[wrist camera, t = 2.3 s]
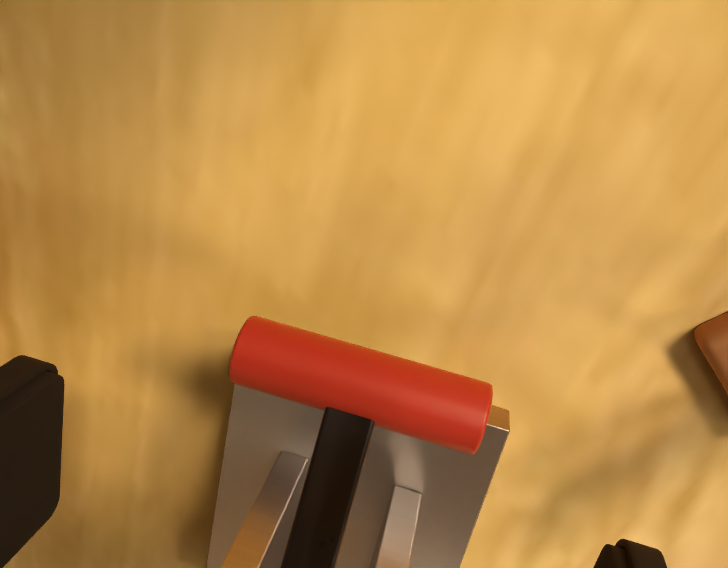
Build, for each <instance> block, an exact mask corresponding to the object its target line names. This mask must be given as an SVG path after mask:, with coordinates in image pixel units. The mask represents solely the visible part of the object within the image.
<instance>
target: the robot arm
mask: <svg viewBox="0 0 728 568" xmlns="http://www.w3.org/2000/svg"><path fill="white" fill-rule="evenodd" d="M63 404H64V379H63V377H62V376H60V375H58V370H57V368H56V366H55V365H53V364H51V363H48V362H44V361H41V360H38V359H35V358H31V357H28V356H25V355H20V356H17V357H15V358H13V359H12V360H10V361H9V362H7V363H6V364H4V365H3V366H1V367H0V568H3V567H4V566H5V565H6V564H7V563H8V562H9V561H10V559H11V558H12V557H13V556H14V555H15V554H16V553H17V552H18V551H19V550H20V549H21V548H22V547H23V546H24V545H25V544H26V543H27V542H28V540H29V539H30V538H31V537H32V536H33V535H34V534H35V533H36V532H37V531H38V530H39V529H40V528H41V527H42V526H43V525H44V524H45V523H46V521H47V520H48V519H49V518H50V517H51V516H52V514H53V512H54V511H55V509H56V507H57V504H58V501H59V495H60V473H61V450H62V427H63ZM594 568H667V566H666V563H665V560H664V557H663V555H662V553H661V552H660V551H659V550H658V549H655V548H652V547H649V546H645V545H642V544H639V543H635V542H632V541H629V540H626V539H620V540H619V541H618V542H617V543H616V545H615V546H613V545H610V544H606V545H605V546H604V547H603V549H602V551H601V553H600V555H599V557H598V559H597V561H596V564H595V566H594Z"/></svg>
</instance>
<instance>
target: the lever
mask: <svg viewBox="0 0 728 568" xmlns="http://www.w3.org/2000/svg"><path fill="white" fill-rule="evenodd" d="M229 378H230V380H231V382H233V383H234V384H237V385H240V386H243V387H247V388H250V389H253V390H257V391H260V392H263V393H267V394H270V395H273V396H277V397H280V398H283V399H287V400H290V401H293V402H297V403H300V404H303V405H307V406H310V407H313V408H317V409H320V410H323V411H324V414H323V417H322V421H321V424H320V428H319V431H318V435H317V439H316V442H315V446H314V449H313V453H312V456H311V460H310V463H309V467H308V471H307V474H306V478H305V481H304V485H303V488H302V492H301V495H300V499H299V503H298V506H297V510H296V513H295V517H294V520H293V524H292V527H291V531H290V534H289V538H288V542H287V545H286V549H285V552H284V556H283V559H282V563H281V566H280V568H336V564H337V561H338V557H339V553H340V550H341V546H342V543H343V539H344V536H345V532H346V528H347V525H348V521H349V518H350V514H351V510H352V507H353V503H354V500H355V496H356V492H357V489H358V485H359V482H360V478H361V475H362V471H363V467H364V464H365V460H366V457H367V453H368V449H369V446H370V442H371V439H372V435H373V432H374V428H375V426H377V427H380V428H383V429H387V430H390V431H393V432H397V433H400V434H403V435H407V436H410V437H413V438H417V439H420V440H423V441H427V442H430V443H433V444H437V445H440V446H443V447H446V448H450V449H453V450H456V451H460V452H463V453H466V454H470V455H471V454H475V453H476V451H477V450H478V448H479V446H480V444H481V441H482V439H483V436H484V433H485V429H486V426H487V422H488V418H489V414H490V409H491V404H492V396H493V391H492V385H490V384H489V383H486V382H483V381H480V380H476V379H473V378H469V377H466V376H462V375H459V374H455V373H452V372H448V371H445V370H441V369H438V368H434V367H431V366H427V365H424V364H421V363H417V362H414V361H410V360H407V359H403V358H400V357H396V356H393V355H389V354H386V353H382V352H379V351H375V350H372V349H368V348H365V347H362V346H358V345H355V344H351V343H348V342H344V341H341V340H337V339H334V338H330V337H327V336H323V335H320V334H316V333H313V332H309V331H306V330H303V329H299V328H296V327H292V326H289V325H285V324H282V323H278V322H275V321H271V320H268V319H264V318H261V317H257V316H251V317H249V318H248V319H247V321H246V322H245V323H244V325H243V326H242V328H241V330H240V332H239V334H238V336H237V339H236V341H235V344H234V347H233V351H232V354H231V359H230V365H229Z"/></svg>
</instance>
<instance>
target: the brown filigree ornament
mask: <svg viewBox="0 0 728 568" xmlns="http://www.w3.org/2000/svg"><path fill="white" fill-rule="evenodd" d="M694 339H695V341H696V343H697V344H698V346H699V348H700V349H701V351H702V353H703V354H704V356H705V358H706V359H707V361H708V363H709V364H710V366H711V368H712V369H713V371H714V373H715V374H716V376H717V378H718V379H719V381H720V383H721V384H722V386H723V388H724V389H725V391H726V393H727V394H728V312H727V313H725V314H722V315H720V316H718V317H716V318H714V319H712V320H710V321H707V322H705V323H703V324H701V325H699V326H698V327H697V328H696V329H695V331H694Z"/></svg>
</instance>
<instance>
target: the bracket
mask: <svg viewBox="0 0 728 568" xmlns="http://www.w3.org/2000/svg"><path fill="white" fill-rule="evenodd" d="M323 414H324V411H323V410H320V409H317V408H313V407H310V406H307V405H303V404H300V403H297V402H293V401H290V400H287V399H283V398H280V397H277V396H273V395H270V394H267V393H263V392H260V391H257V390H253V389H250V388H247V387H243V386H240V385H237V384H235V385H234V391H233V398H232V404H231V411H230V417H229V423H228V430H227V436H226V443H225V449H224V456H223V462H222V468H221V475H220V481H219V488H218V494H217V501H216V507H215V513H214V520H213V526H212V533H211V539H210V545H209V552H208V558H207V565H206V568H280V566H281V563H282V559H283V556H284V552H285V549H286V545H287V542H288V538H289V534H290V531H291V527H292V524H293V520H294V517H295V513H296V510H297V506H298V503H299V499H300V495H301V492H302V488H303V485H304V481H305V478H306V474H307V471H308V467H309V463H310V460H311V456H312V453H313V449H314V446H315V442H316V439H317V435H318V431H319V428H320V424H321V421H322V417H323ZM509 432H510V425H509V411H508V410H504V409H501V408H498V407H494V406H491V409H490V414H489V418H488V422H487V426H486V429H485V433H484V436H483V439H482V441H481V444H480V446H479V448H478V450H477V451H476V453H475V454H471V455H470V454H466V453H463V452H460V451H456V450H453V449H450V448H446V447H443V446H440V445H437V444H433V443H430V442H427V441H423V440H420V439H417V438H413V437H410V436H407V435H403V434H400V433H397V432H393V431H390V430H387V429H383V428H380V427H377V426H375V428H374V432H373V435H372V439H371V442H370V446H369V449H368V453H367V457H366V460H365V464H364V467H363V471H362V475H361V478H360V482H359V485H358V489H357V492H356V496H355V500H354V503H353V507H352V510H351V514H350V518H349V521H348V525H347V528H346V532H345V536H344V539H343V543H342V546H341V550H340V553H339V557H338V561H337V564H336V568H459V567H460V565H461V562H462V559H463V556H464V554H465V551H466V548H467V546H468V543H469V540H470V537H471V535H472V532H473V529H474V527H475V524H476V521H477V518H478V516H479V513H480V510H481V508H482V505H483V502H484V499H485V497H486V494H487V491H488V489H489V486H490V483H491V480H492V478H493V475H494V472H495V470H496V467H497V464H498V462H499V459H500V456H501V453H502V451H503V448H504V445H505V443H506V440H507V437H508V434H509Z"/></svg>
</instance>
